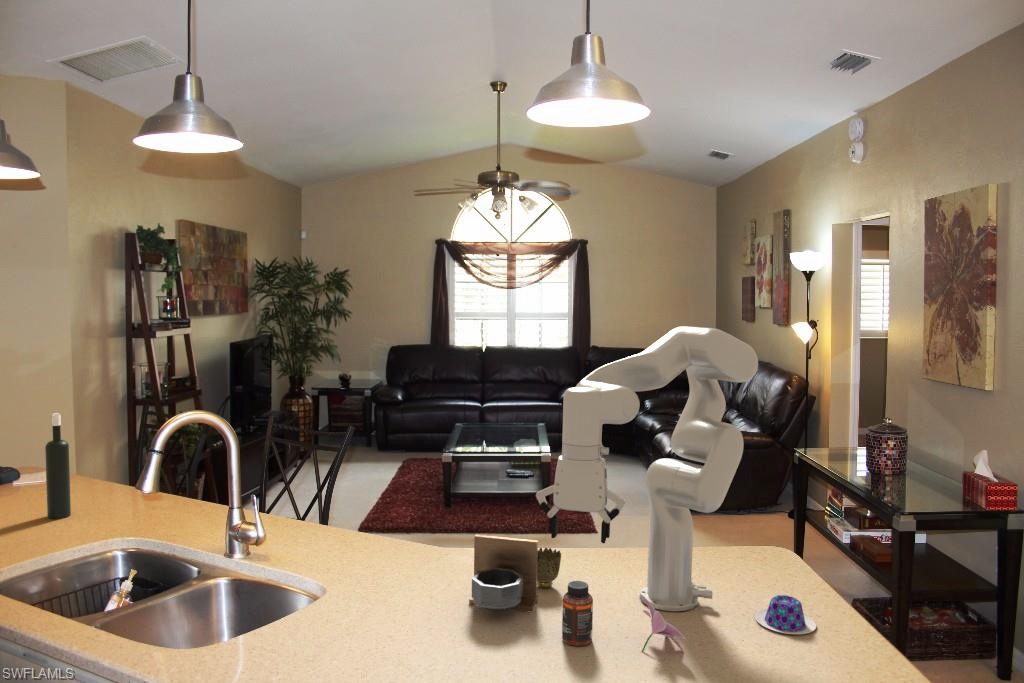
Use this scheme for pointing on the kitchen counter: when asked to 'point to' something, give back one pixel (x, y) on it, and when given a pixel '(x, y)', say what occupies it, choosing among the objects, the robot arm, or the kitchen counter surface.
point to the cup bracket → (504, 573)
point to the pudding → (785, 616)
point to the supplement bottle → (577, 614)
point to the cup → (547, 567)
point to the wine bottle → (57, 473)
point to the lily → (661, 625)
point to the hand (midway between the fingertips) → (578, 538)
